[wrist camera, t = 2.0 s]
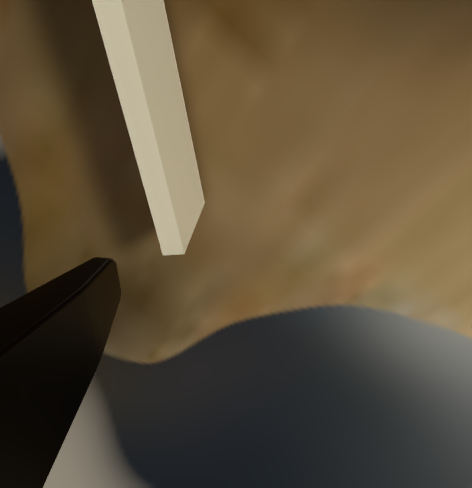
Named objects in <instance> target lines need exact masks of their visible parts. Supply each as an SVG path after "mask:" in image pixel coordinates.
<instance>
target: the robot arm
mask: <svg viewBox="0 0 472 488" xmlns="http://www.w3.org/2000/svg"><path fill="white" fill-rule="evenodd" d="M120 297H121V288H120V282H119V276H118V271H117V265H116V262H115V260H113V259H112V258H101V257H95V258H92V259H90V260H89V261H87V262H85V263H83V264H81V265H79V266H77V267H75V268H74V269H72V270H70V271H68V272H66V273H64V274H62V275H61V276H59V277H57V278H55V279H53V280H51V281H49V282H47V283H46V284H44V285H42V286H40V287H38V288H36V289H34V290H32V291H31V292H29V293H27V294H25V295H23V296H21V297H19V298H18V299H16V300H14V301H12V302H10V303H8V304H6V305H4V306H3V307H1V308H0V488H43V486H44V483H45V481H46V479H47V476H48V475H49V472H50V470H51V468H52V466H53V464H54V462H55V459H56V457H57V455H58V453H59V450H60V448H61V446H62V444H63V441H64V440H65V437H66V435H67V433H68V431H69V429H70V426H71V424H72V422H73V420H74V418H75V416H76V413H77V411H78V409H79V407H80V405H81V402H82V400H83V398H84V396H85V394H86V391H87V389H88V387H89V385H90V383H91V380H92V378H93V376H94V374H95V372H96V369H97V367H98V365H99V362H100V360H101V357H102V354H103V351H104V348H105V345H106V342H107V339H108V336H109V333H110V329H111V326H112V323H113V320H114V317H115V314H116V311H117V308H118V305H119V301H120Z"/></svg>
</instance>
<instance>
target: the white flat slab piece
mask: <svg viewBox="0 0 472 488" xmlns="http://www.w3.org/2000/svg"><path fill="white" fill-rule="evenodd" d="M92 3H93V6H94V10H95V13H96V17H97V20H98V24H99V28H100V31H101V35H102V38H103V42H104V46H105V49H106V53H107V56H108V60H109V64H110V67H111V71H112V74H113V78H114V82H115V85H116V89H117V92H118V96H119V99H120V103H121V107H122V110H123V114H124V117H125V121H126V125H127V128H128V132H129V135H130V139H131V143H132V146H133V150H134V153H135V157H136V161H137V164H138V168H139V171H140V175H141V178H142V182H143V186H144V189H145V193H146V196H147V200H148V204H149V207H150V211H151V214H152V218H153V222H154V225H155V229H156V232H157V236H158V239H159V243H160V247H161V250H162V254H163V255H180V254H185V251H186V249H187V246H188V244H189V241H190V238H191V236H192V233H193V231H194V228H195V226H196V223H197V221H198V218H199V216H200V213H201V211H202V208H203V206H204V203H205V201H204V196H203V192H202V187H201V182H200V177H199V172H198V167H197V162H196V157H195V152H194V147H193V142H192V137H191V133H190V128H189V123H188V118H187V113H186V108H185V103H184V98H183V93H182V88H181V83H180V79H179V74H178V69H177V64H176V59H175V54H174V49H173V44H172V39H171V34H170V29H169V24H168V20H167V15H166V10H165V5H164V0H92Z"/></svg>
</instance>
